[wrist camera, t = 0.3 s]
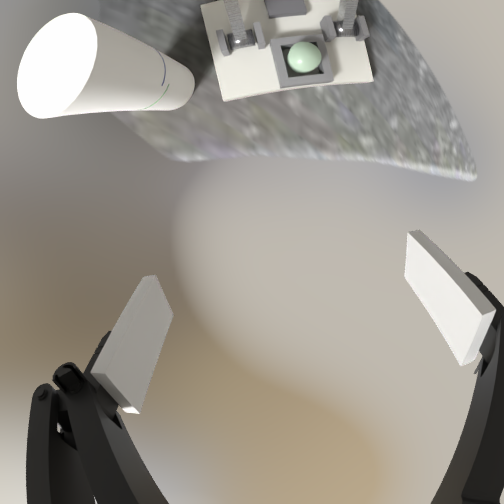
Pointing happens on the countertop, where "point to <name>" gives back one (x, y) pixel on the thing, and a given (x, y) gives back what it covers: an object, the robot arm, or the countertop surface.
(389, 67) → the countertop surface
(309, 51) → the button
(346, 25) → the lever
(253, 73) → the panel
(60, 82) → the cylindrical container
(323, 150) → the countertop surface
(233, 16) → the lever
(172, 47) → the countertop surface
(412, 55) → the countertop surface
